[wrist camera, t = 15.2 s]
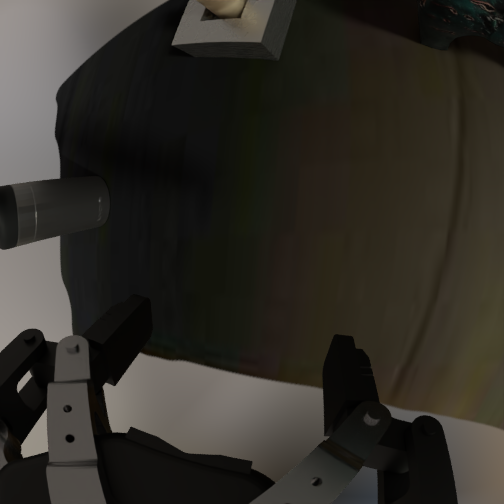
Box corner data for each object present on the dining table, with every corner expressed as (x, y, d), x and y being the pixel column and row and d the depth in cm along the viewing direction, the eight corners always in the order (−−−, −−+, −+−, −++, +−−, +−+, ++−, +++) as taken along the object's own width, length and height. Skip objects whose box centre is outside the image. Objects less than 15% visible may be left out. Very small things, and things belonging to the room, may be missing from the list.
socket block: (195, 57, 29) (171, 45, 25) (220, -8, 25) (200, -24, 21) (278, 60, 25) (260, 42, 21) (300, -12, 21) (287, -34, 17)
